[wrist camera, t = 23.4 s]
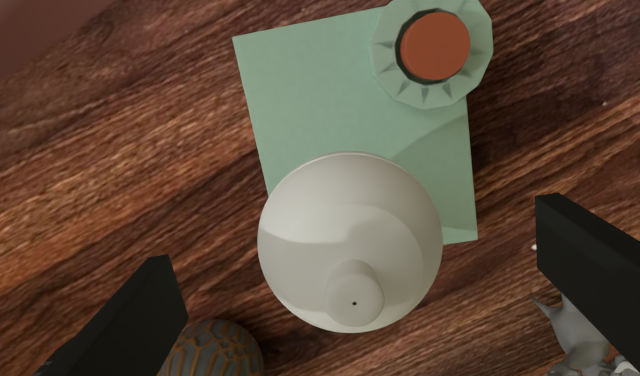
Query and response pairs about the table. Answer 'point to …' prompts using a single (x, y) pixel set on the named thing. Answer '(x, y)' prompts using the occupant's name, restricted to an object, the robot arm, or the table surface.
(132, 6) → the table surface
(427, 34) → the button
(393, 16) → the green push button box
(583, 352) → the elephant figurine
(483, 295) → the table surface
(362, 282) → the spinning top
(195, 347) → the vase
